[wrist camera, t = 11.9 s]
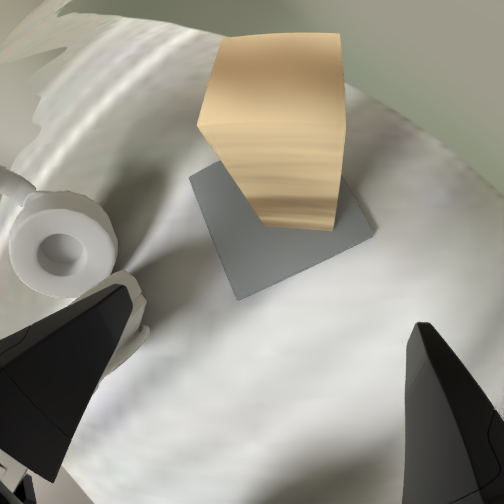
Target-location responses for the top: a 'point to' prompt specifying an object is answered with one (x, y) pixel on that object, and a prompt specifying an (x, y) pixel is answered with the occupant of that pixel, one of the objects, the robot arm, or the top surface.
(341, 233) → the rubber mat
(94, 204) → the headphones
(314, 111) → the oak block
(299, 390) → the top surface
